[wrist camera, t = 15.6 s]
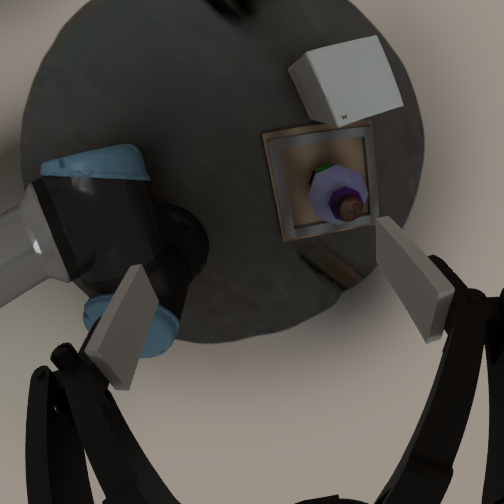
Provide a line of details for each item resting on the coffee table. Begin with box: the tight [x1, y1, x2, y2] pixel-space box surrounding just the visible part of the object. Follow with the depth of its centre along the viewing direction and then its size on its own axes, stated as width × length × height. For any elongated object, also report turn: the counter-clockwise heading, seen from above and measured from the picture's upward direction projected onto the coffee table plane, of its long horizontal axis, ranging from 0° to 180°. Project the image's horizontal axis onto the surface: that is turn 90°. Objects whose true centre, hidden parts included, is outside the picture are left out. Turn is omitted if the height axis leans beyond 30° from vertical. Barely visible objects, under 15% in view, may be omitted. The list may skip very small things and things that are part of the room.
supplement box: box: [288, 35, 404, 127], centre depth 31 cm, size 9×9×15 cm
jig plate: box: [262, 118, 379, 242], centre depth 44 cm, size 17×18×3 cm
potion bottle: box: [308, 163, 368, 225], centre depth 38 cm, size 9×9×12 cm
